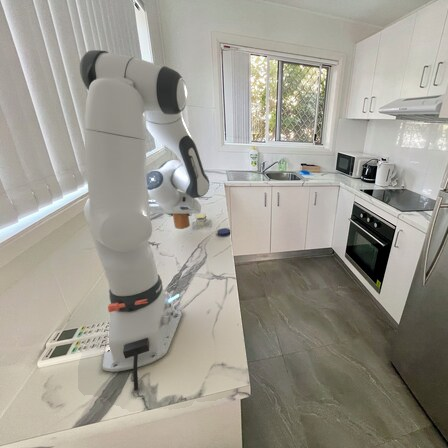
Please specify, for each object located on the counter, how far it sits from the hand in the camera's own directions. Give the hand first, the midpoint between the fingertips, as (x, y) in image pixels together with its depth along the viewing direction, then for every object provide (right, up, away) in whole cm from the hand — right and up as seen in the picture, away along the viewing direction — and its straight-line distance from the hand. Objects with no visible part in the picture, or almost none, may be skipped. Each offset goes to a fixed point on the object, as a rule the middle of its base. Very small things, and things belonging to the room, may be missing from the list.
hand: (181, 214), depth 111 cm
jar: (0, -5, +1) cm, 5 cm away
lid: (+14, -8, +17) cm, 24 cm away
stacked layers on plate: (-1, -5, +27) cm, 28 cm away
